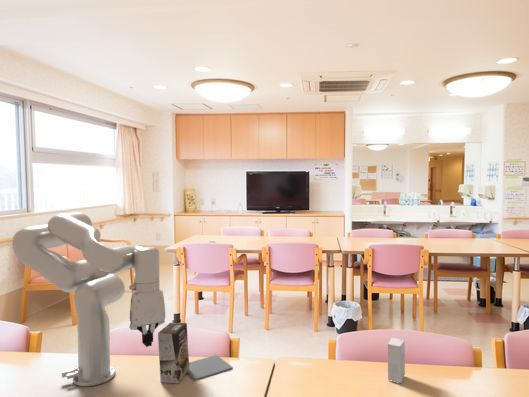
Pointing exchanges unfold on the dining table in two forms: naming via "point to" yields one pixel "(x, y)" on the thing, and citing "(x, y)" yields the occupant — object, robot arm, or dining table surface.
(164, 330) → the coffee box
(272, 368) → the dining table surface
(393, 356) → the skincare box
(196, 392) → the dining table surface
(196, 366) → the mat
